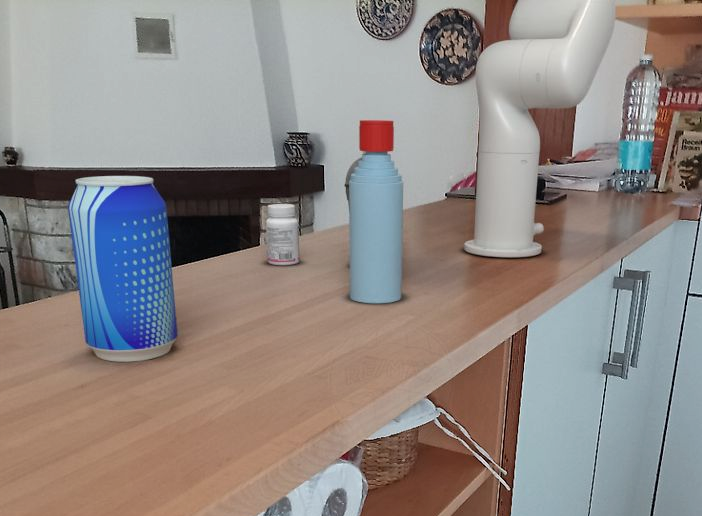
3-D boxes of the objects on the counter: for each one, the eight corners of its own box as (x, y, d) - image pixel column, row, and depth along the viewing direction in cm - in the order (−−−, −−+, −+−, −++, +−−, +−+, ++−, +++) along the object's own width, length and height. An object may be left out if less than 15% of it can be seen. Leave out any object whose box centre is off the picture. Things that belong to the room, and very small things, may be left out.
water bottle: (371, 289, 101) (372, 126, 94) (411, 296, 98) (415, 127, 90) (339, 298, 96) (337, 126, 89) (379, 306, 93) (380, 128, 86)
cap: (391, 152, 89) (391, 121, 88) (356, 151, 89) (356, 120, 88) (395, 150, 92) (395, 120, 91) (362, 149, 93) (362, 120, 92)
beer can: (128, 370, 70) (107, 185, 64) (68, 354, 74) (43, 179, 68) (197, 347, 76) (183, 178, 71) (138, 334, 80) (120, 173, 75)
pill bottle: (278, 258, 120) (276, 202, 117) (305, 261, 118) (304, 204, 115) (261, 263, 116) (258, 206, 113) (288, 267, 114) (286, 208, 111)
